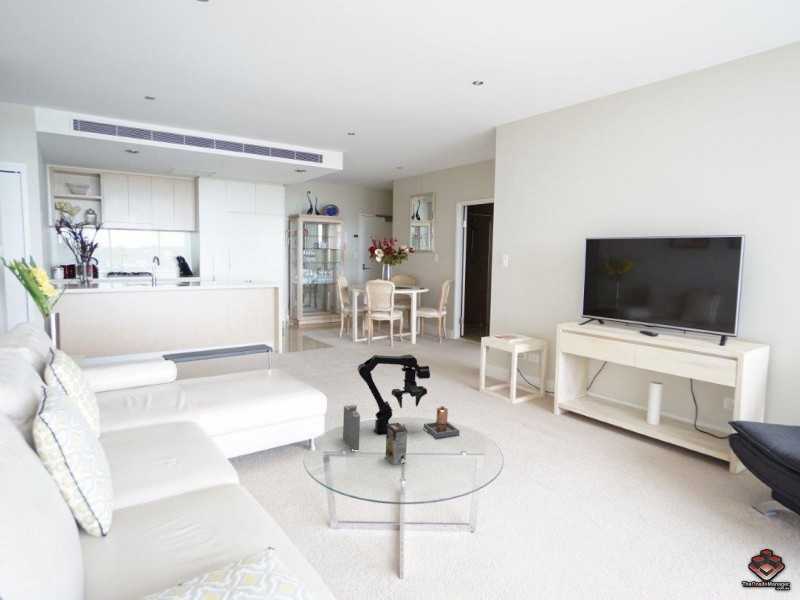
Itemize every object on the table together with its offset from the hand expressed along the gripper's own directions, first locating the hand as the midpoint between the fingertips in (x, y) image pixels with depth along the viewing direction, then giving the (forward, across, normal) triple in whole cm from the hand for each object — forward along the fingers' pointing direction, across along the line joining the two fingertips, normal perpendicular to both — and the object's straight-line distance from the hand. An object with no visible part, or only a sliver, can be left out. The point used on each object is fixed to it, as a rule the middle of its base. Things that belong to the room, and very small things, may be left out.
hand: (408, 407), depth 249 cm
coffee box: (+13, -20, -29) cm, 38 cm away
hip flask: (+13, -34, -7) cm, 37 cm away
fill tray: (+13, +16, -8) cm, 22 cm away
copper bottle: (+12, +16, -8) cm, 22 cm away
